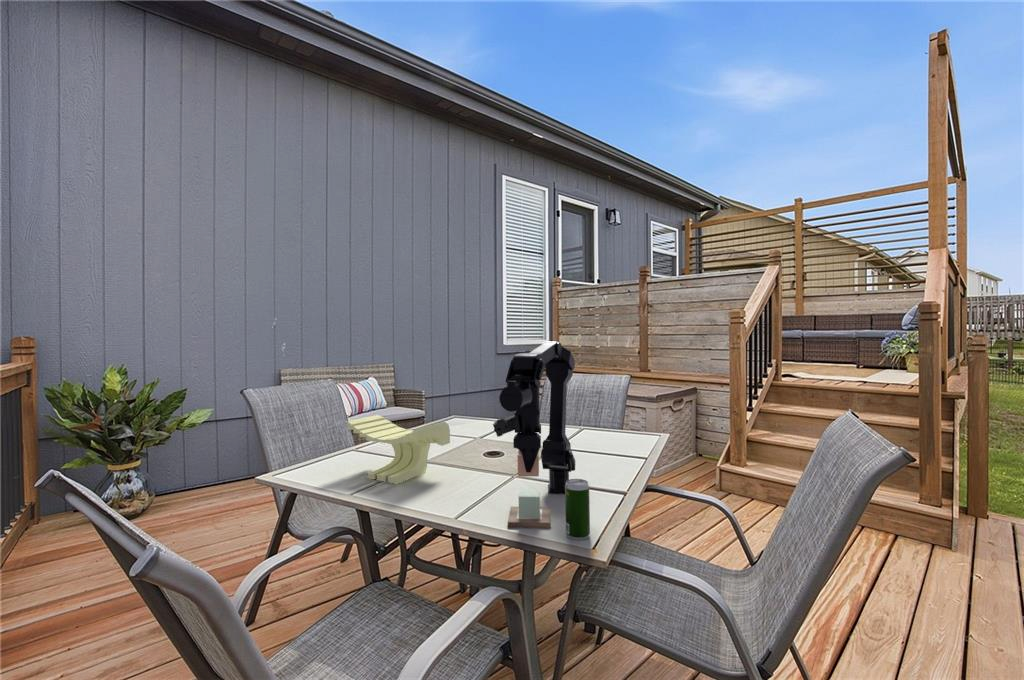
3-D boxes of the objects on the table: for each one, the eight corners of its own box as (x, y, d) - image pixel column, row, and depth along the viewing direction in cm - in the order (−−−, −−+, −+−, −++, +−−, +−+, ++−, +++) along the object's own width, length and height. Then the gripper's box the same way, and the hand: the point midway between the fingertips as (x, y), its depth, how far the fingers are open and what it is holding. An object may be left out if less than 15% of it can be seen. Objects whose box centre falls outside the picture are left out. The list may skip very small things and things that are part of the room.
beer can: (573, 542, 99) (572, 487, 99) (561, 533, 104) (560, 480, 104) (594, 538, 101) (594, 483, 101) (581, 529, 106) (581, 477, 106)
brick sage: (539, 510, 114) (539, 490, 114) (539, 517, 109) (539, 497, 109) (519, 509, 115) (519, 489, 115) (518, 517, 110) (518, 496, 110)
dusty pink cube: (518, 470, 115) (518, 450, 115) (538, 470, 114) (538, 450, 114) (517, 476, 110) (517, 455, 110) (538, 476, 110) (538, 455, 109)
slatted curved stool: (450, 474, 150) (449, 420, 150) (417, 488, 137) (416, 428, 137) (383, 463, 165) (383, 413, 165) (348, 474, 152) (347, 420, 151)
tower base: (510, 511, 117) (510, 506, 117) (549, 511, 117) (549, 506, 117) (507, 527, 107) (507, 521, 107) (550, 527, 107) (550, 522, 107)
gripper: (498, 400, 122) (499, 458, 122) (490, 411, 103) (491, 480, 103) (540, 400, 121) (541, 459, 121) (540, 411, 103) (541, 481, 103)
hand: (528, 469), depth 112 cm, fingers closed on dusty pink cube, 5 cm apart
